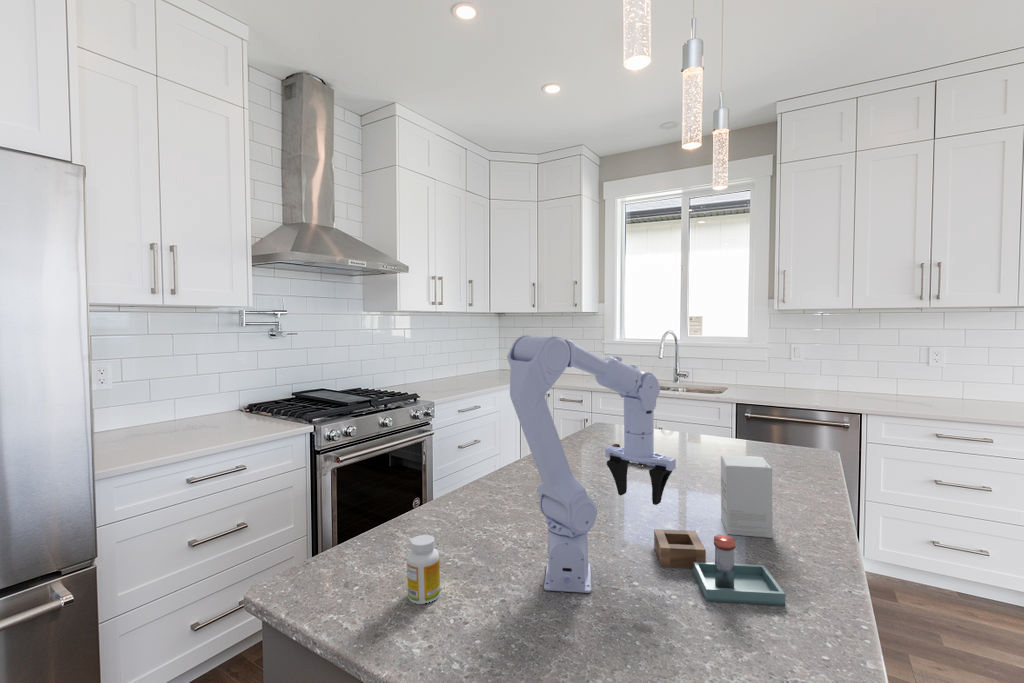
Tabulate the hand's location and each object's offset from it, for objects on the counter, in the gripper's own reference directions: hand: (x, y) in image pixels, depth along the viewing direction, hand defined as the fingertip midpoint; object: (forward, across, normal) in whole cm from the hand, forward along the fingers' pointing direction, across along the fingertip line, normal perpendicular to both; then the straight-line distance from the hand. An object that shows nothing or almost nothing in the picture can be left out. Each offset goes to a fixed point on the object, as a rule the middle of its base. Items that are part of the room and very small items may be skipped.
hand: (639, 498), depth 97 cm
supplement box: (+10, -12, -24) cm, 29 cm away
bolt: (+11, +30, -51) cm, 60 cm away
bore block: (+10, -8, -2) cm, 13 cm away
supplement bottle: (+10, +18, +39) cm, 45 cm away
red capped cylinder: (+10, -18, +3) cm, 21 cm away
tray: (+10, -19, +2) cm, 22 cm away
